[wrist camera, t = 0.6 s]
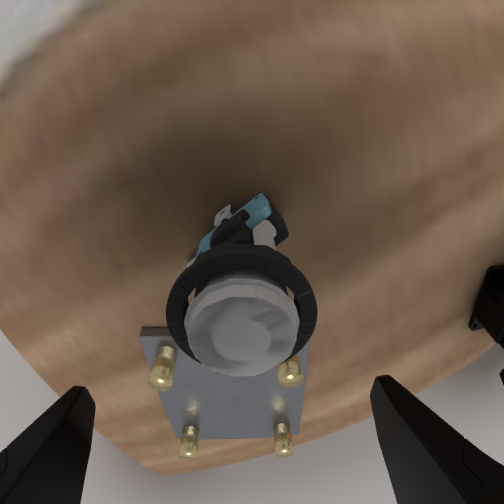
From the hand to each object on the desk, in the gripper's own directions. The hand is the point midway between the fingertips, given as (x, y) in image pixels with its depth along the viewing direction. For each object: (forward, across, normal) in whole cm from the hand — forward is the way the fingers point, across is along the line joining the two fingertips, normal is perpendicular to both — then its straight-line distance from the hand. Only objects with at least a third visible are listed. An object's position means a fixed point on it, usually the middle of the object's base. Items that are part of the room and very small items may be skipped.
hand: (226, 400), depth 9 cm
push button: (+12, 0, 0) cm, 12 cm away
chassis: (+12, +1, +14) cm, 18 cm away
